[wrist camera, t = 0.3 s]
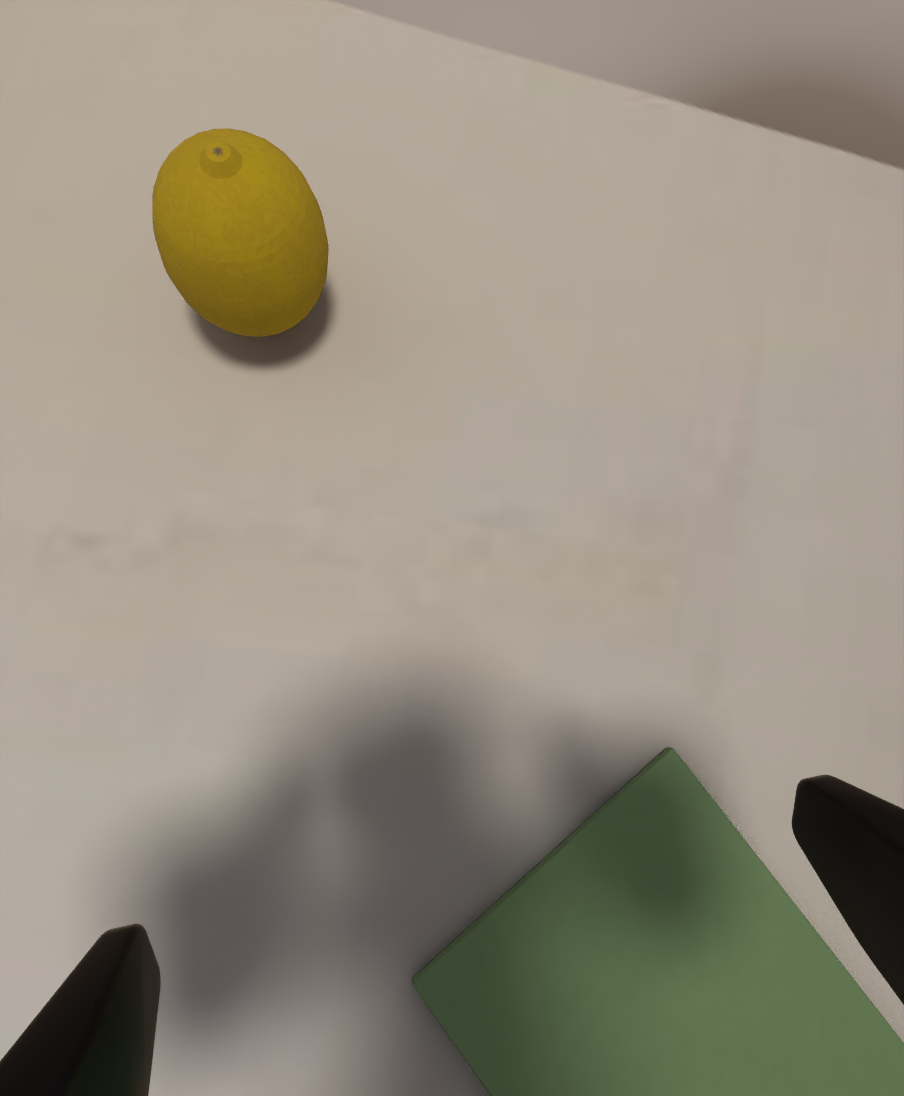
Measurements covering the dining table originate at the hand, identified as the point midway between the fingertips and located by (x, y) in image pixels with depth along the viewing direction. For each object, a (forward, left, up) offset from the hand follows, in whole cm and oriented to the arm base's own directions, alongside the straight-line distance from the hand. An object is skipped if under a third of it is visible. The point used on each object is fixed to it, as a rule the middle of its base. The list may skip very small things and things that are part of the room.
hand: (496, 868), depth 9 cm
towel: (-13, -1, -15) cm, 19 cm away
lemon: (+17, -5, -15) cm, 24 cm away
